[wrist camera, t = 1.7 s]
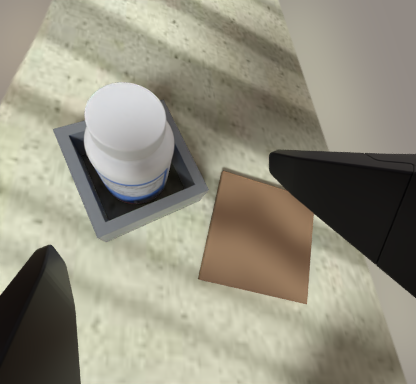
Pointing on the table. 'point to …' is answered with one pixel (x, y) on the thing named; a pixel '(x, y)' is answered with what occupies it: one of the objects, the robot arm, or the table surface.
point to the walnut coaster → (258, 240)
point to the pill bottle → (129, 141)
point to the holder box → (108, 230)
